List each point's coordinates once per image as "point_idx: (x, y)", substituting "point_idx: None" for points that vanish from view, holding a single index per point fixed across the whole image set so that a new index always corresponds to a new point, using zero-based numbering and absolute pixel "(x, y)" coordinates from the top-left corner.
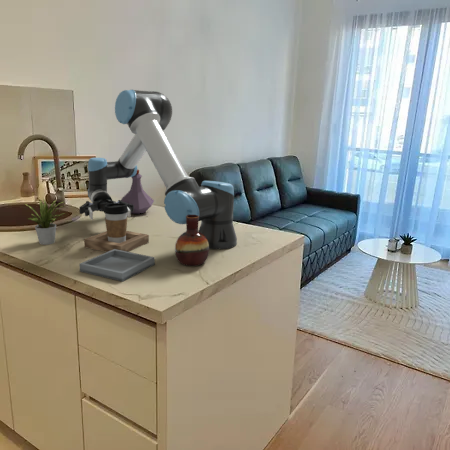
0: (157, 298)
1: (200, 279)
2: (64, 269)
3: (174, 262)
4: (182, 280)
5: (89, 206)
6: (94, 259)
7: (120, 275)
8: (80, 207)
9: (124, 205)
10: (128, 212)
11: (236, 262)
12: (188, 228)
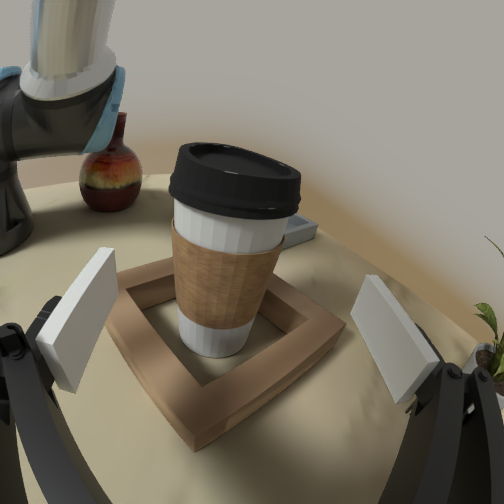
0: None
1: (147, 180)
2: (342, 251)
3: (137, 209)
4: (169, 184)
5: (448, 404)
6: (293, 228)
7: None
8: (482, 368)
9: (204, 143)
10: (114, 264)
11: (63, 188)
12: (123, 134)
